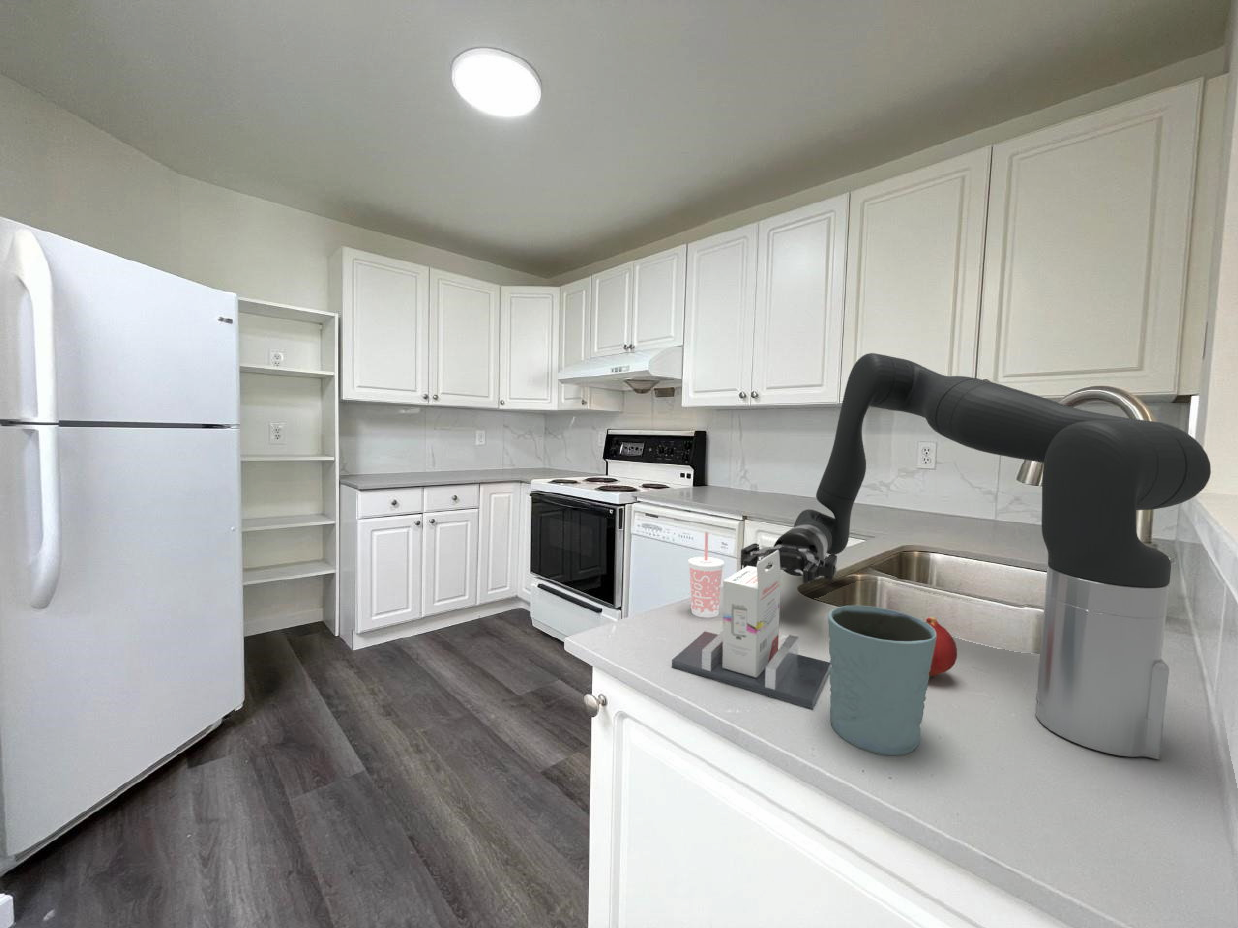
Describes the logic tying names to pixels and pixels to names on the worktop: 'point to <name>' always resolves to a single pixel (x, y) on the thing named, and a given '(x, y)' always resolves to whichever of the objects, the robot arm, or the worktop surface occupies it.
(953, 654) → the onion
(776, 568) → the ink cartridge box
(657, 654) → the worktop surface
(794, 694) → the rail channel
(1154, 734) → the robot arm
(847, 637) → the teal ceramic vase
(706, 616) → the beverage cup
